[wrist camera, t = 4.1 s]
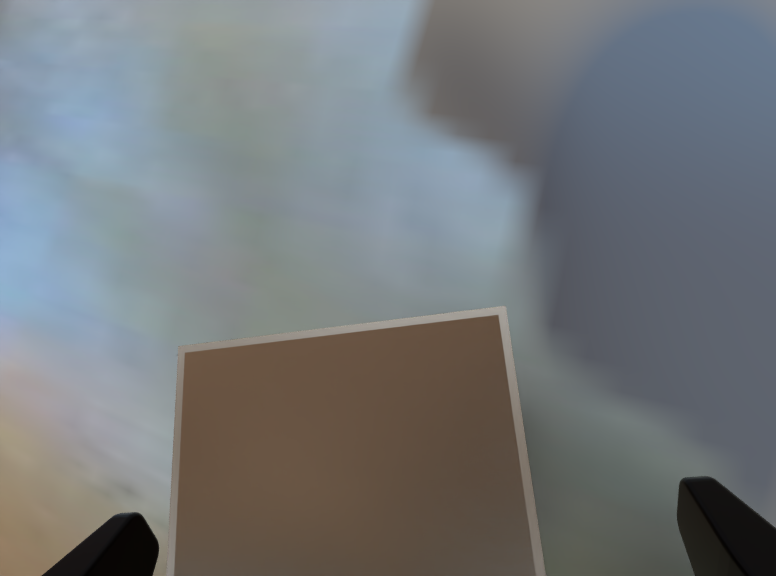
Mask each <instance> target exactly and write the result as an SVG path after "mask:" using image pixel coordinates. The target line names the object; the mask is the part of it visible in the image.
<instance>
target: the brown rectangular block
mask: <svg viewBox="0 0 776 576" xmlns="http://www.w3.org/2000/svg"><path fill="white" fill-rule="evenodd" d="M166 576H546V573H545V566H544V559H543V553H542V546H541V539H540V533H539V526H538V519H537V513H536V506H535V499H534V492H533V486H532V479H531V472H530V466H529V459H528V452H527V446H526V439H525V432H524V426H523V419H522V412H521V405H520V399H519V392H518V385H517V379H516V372H515V365H514V359H513V352H512V345H511V339H510V332H509V325H508V318H507V312H506V306H500V307H492V308H484V309H476V310H468V311H459V312H451V313H443V314H435V315H427V316H419V317H411V318H403V319H395V320H387V321H379V322H370V323H362V324H354V325H346V326H338V327H330V328H322V329H314V330H306V331H298V332H290V333H281V334H273V335H265V336H257V337H249V338H241V339H233V340H225V341H217V342H209V343H201V344H192V345H184V346H178V364H177V383H176V402H175V421H174V441H173V460H172V479H171V498H170V517H169V536H168V555H167V574H166Z"/></svg>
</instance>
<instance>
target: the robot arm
mask: <svg viewBox="0 0 776 576" xmlns="http://www.w3.org/2000/svg"><path fill="white" fill-rule="evenodd" d="M677 521H678V526H679V530H680V533H681V536H682V539H683V542H684V545H685V548H686V551H687V554H688V556H689V559H690V562H691V565H692V568H693V571H694V574H695V576H776V528H775V527H774V526H773V525H771V524H770V523H769V522H768V521H766V520H765V519H764V518H763V517H761V516H760V515H759V514H758V513H756V512H755V511H754V510H753V509H751V508H750V507H749V506H748V505H746V504H745V503H744V502H743V501H742V500H740V499H739V498H738V497H737V496H735V495H734V494H733V493H732V492H730V491H729V490H728V489H727V488H725V487H724V486H723V485H722V484H720V483H719V482H718V481H717V480H715V479H714V478H711V477H709V476H700V477H685V478H683V479H681V481H680V484H679V493H678V506H677ZM158 554H159V544H158V540H157V538H156V537H155V535H154V533H153V532H152V530H151V528H150V527H149V525H148V524H147V522H146V520H145V519H144V517H143V516H142V515H141V514H140V513H137V512H132V513H120V514H117V515H114V516H113V517H112V518H110V519H109V520H108V521H107V522H105V523H104V524H103V525H102V526H101V527H99V528H98V529H97V530H96V531H95V532H93V533H92V534H91V535H90V536H89V537H87V538H86V539H85V540H84V541H83V542H81V543H80V544H79V545H78V546H77V547H75V548H74V549H73V550H72V551H71V552H70V553H68V554H67V555H66V556H65V557H64V558H62V559H61V560H60V561H59V562H58V563H56V564H55V565H54V566H53V567H52V568H50V569H49V570H48V571H47V572H46V573H44V574H43V575H42V576H153V572H154V569H155V565H156V562H157V558H158Z"/></svg>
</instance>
